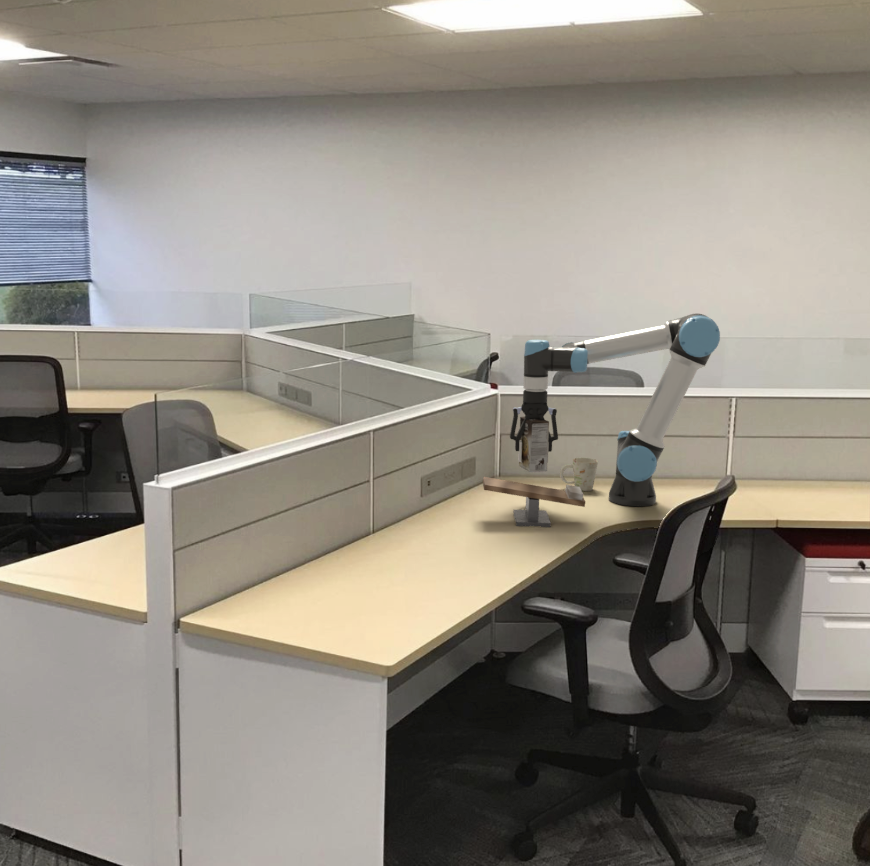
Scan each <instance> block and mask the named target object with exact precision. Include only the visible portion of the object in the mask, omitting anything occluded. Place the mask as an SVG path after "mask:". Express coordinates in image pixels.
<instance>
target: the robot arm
mask: <svg viewBox="0 0 870 866" xmlns="http://www.w3.org/2000/svg"><path fill="white" fill-rule="evenodd" d="M720 340H721V331H720V329H719V326H718V325H717V323H716V322H715V321H714V319H712V318H710V317H709V316H707V315H706V314H702V313H692V314H687V315H685V316H683V317H678V318H676V319H675V318H674V319H670V320H666V322H665V323H664V324H662V325H656V326H653V327H647V328H642V329H636V330H631V331H627V332H622V333H617V334H616V333H615V334H612V335H606V336H601V337H596V338H592V339H586V340H582V341H576V342H572V341H571V342H568V343H567V342H566V343H565V344H563V345H562V346H561V347H559V346H558V347H554V346H550V342H549V340H546V339H529V340H527V341H526V342H525V343H524V353H523V389H524V390H523V391H522V405H521V406H519V407H514V406H513V407H512V412H513V416H512V422H511V427H510V432H509V439H511V440H513V441H515V442H514V443H515V446H514V449H515V452H518V457H517V458H518V463H519V462H521V456H522V441H521V440H520V438H521V436H522V434H523V432H524V430H525V422H526V420H529V419H538V420H546V419H545V417H544V416H546V414H547V413H548V414H549V415H550V419H551V427H552V435H551V433H550V431H549V438H548V453H549V452H550V453H551V452H552V451H553V442H554V441H558V439H559V435H558V434H559V433H558V426H557V418H556V416H557V413H558V410H557V408H556V407H553V408H552V407H549V405H548V389H549V388H548V387H549V385H548V384H549V372H560V373H561V372H563V373H575V374H577V373H586V372H587V371H588V365H589V364H593V363H594V364H595V363H599V362H604V361H605V362H606V361H611V360H615V359H621V358H622V359H623V358H626V357H631V356H636V355H642V354H646V353H647V354H648V353H652V352H659V351H662V350H664V351H665V350H668V351H669V354H670V359H669V361H668V363H667V365H666V368H665V369H664V371H663V374H662V376H661V377H660V379H659V382H658V384H657V385H656V387H655V390H654V392H653V393H652V396H651V398H650V400H649V402H648V404H647V407H646V408H645V411H644V412H643V414H642V417H641V419H640V421H639V422H638V425H637V427H635V428H632V429H630V430H621V431H619V432H618V437H617V438H616V439H617V448H616V449H617V450H616V463H615V476H614V479H613V482H612V484H611V487H610V489H609V492H608V501H610V502H611V503H614V504H617V505H621V506H628V507H650V506H653V505H655V504H656V502H657V493H656V490H655V486H654V482H653V475H654V473H655V472H656V470H657V465H658V461H659V459H660V457H661V455H662V453H663V451H664V449H665V443H664V438H665V435H666V434H667V432H668V429H669V428H670V426H671V423H672V421H673V420H674V418H675V416H676V413H677V412H678V409H679V407H680V405H681V403H682V401H683V399H684V398H685V396H686V393H687V392H688V390H689V388H690V385H691V384H692V381H693V379H694V378H695V375H696V373H697V372H698V370H699V369H703V368H704V367H705V366H706V365H707V363H708V361H709V359H710V358H711V355H712V354H713V352H714V351H715V350H716V349H717V347H718V346H719V343H720ZM705 368H706V367H705ZM521 411H522V413H523V414H524V415H525V416H523V417H524V418H525V420H524V421H523V422H522V424H521V427H520V426H519V429H518V431H517V430H516V429H517V424H518V418H519V415H520V414H521ZM516 431H517V434H516ZM515 434H516V435H515ZM548 463H549V458H548V459H547V464H548Z"/></svg>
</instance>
